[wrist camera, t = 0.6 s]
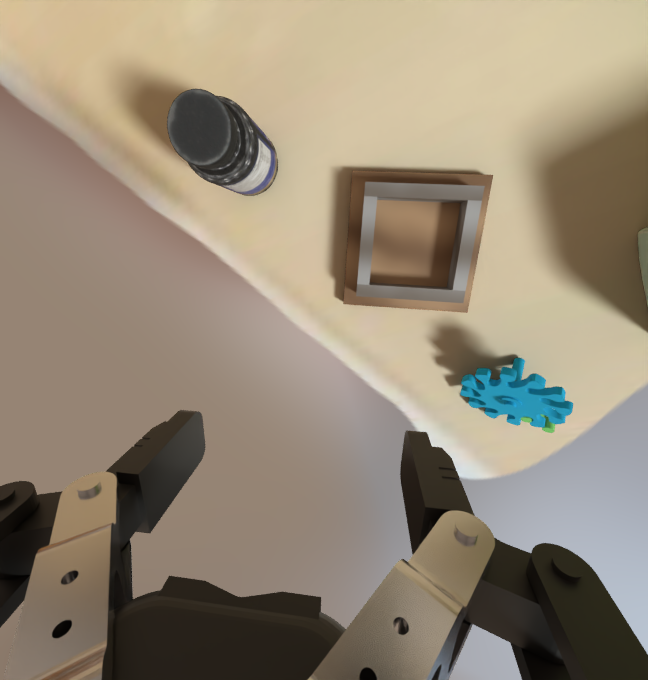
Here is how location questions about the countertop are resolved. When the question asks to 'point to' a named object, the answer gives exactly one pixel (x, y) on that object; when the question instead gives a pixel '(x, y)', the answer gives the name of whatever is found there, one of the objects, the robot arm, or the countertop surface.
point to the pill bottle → (221, 142)
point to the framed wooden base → (414, 239)
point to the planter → (643, 258)
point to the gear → (517, 397)
